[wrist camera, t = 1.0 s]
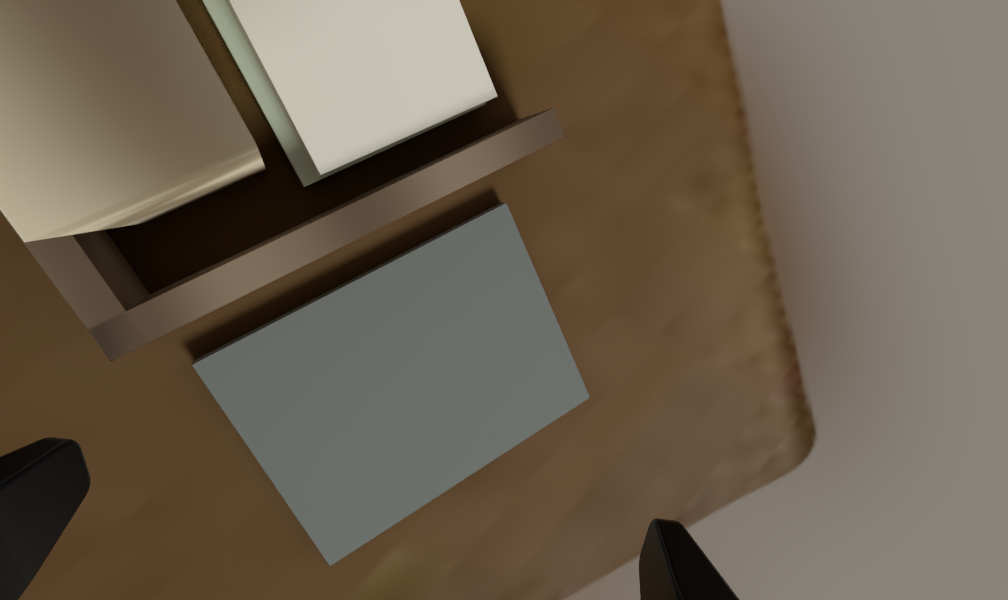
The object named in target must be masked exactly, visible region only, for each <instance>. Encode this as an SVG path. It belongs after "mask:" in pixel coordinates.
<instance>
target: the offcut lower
mask: <svg viewBox="0 0 1008 600" xmlns="http://www.w3.org/2000/svg"><path fill="white" fill-rule="evenodd" d="M201 1H202V2H203V4H204V6H205V8H206V10H207V12H208V13H209V15H210V17H211V19H212V21H213V23H214V24H215V26H216V28H217V30H218V32H219V34H220V35H221V37H222V39H223V41H224V43H225V44H226V46H227V48H228V50H229V52H230V54H231V55H232V57H233V59H234V61H235V63H236V65H237V66H238V68H239V70H240V72H241V74H242V76H243V77H244V79H245V81H246V83H247V85H248V87H249V88H250V90H251V92H252V94H253V96H254V98H255V99H256V101H257V103H258V105H259V107H260V109H261V110H262V112H263V114H264V116H265V118H266V120H267V121H268V123H269V125H270V127H271V129H272V130H273V132H274V134H275V136H276V138H277V140H278V141H279V143H280V145H281V147H282V149H283V151H284V152H285V154H286V156H287V158H288V160H289V162H290V163H291V165H292V167H293V169H294V171H295V173H296V174H297V176H298V178H299V180H300V182H301V184H302V185H303V187H306V186H308V185H310V184H312V183H314V182H317V181H319V180H321V179H323V178H325V177H328V176H330V175H332V174H334V173H336V172H339V171H341V170H343V169H345V168H347V167H349V166H352V165H354V164H356V163H358V162H360V161H363V160H365V159H367V158H369V157H371V156H374V155H376V154H378V153H380V152H382V151H385V150H387V149H389V148H391V147H393V146H395V145H398V144H400V143H402V142H404V141H406V140H409V139H411V138H413V137H415V136H417V135H420V134H422V133H424V132H426V131H428V130H431V129H433V128H435V127H437V126H439V125H441V124H444V123H446V122H448V121H450V120H452V119H455V118H457V117H459V116H461V115H463V114H466V113H468V112H470V111H472V110H474V109H477V108H479V107H481V106H483V105H485V104H486V102H485V103H483V104H480V105H478V106H476V107H474V108H471V109H469V110H467V111H465V112H462V113H460V114H458V115H456V116H453V117H451V118H449V119H447V120H445V121H442V122H440V123H438V124H436V125H433V126H431V127H429V128H427V129H424V130H422V131H420V132H418V133H415V134H413V135H411V136H409V137H406V138H404V139H402V140H400V141H397V142H395V143H393V144H391V145H388V146H386V147H384V148H382V149H379V150H377V151H375V152H373V153H370V154H368V155H366V156H364V157H362V158H359V159H357V160H355V161H353V162H350V163H348V164H346V165H344V166H341V167H339V168H337V169H335V170H332V171H330V172H328V173H326V174H323V175H321V176H319V177H317V175H316V173H315V171H314V169H313V167H312V165H311V163H310V161H309V160H308V158H307V156H306V154H305V152H304V150H303V148H302V146H301V144H300V142H299V141H298V139H297V137H296V135H295V133H294V131H293V129H292V127H291V125H290V123H289V122H288V120H287V118H286V116H285V114H284V112H283V110H282V108H281V106H280V104H279V103H278V101H277V99H276V97H275V95H274V93H273V91H272V89H271V87H270V85H269V84H268V82H267V80H266V78H265V76H264V74H263V72H262V70H261V68H260V66H259V65H258V63H257V61H256V59H255V57H254V55H253V53H252V51H251V49H250V47H249V46H248V44H247V42H246V40H245V38H244V36H243V34H242V32H241V30H240V28H239V27H238V25H237V23H236V21H235V19H234V17H233V15H232V13H231V11H230V9H229V8H228V6H227V4H226V2H225V0H201Z"/></svg>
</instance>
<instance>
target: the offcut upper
mask: <svg viewBox="0 0 1008 600" xmlns="http://www.w3.org/2000/svg"><path fill="white" fill-rule="evenodd" d="M225 2H226V4H227V6H228V8H229V9H230V11H231V13H232V15H233V17H234V19H235V21H236V23H237V25H238V27H239V28H240V30H241V32H242V34H243V36H244V38H245V40H246V42H247V44H248V46H249V47H250V49H251V51H252V53H253V55H254V57H255V59H256V61H257V63H258V65H259V66H260V68H261V70H262V72H263V74H264V76H265V78H266V80H267V82H268V84H269V85H270V87H271V89H272V91H273V93H274V95H275V97H276V99H277V101H278V103H279V104H280V106H281V108H282V110H283V112H284V114H285V116H286V118H287V120H288V122H289V123H290V125H291V127H292V129H293V131H294V133H295V135H296V137H297V139H298V141H299V142H300V144H301V146H302V148H303V150H304V152H305V154H306V156H307V158H308V160H309V161H310V163H311V165H312V167H313V169H314V171H315V173H316V175H317V177H319V176H321V175H323V174H326V173H328V172H330V171H332V170H335V169H337V168H339V167H341V166H344V165H346V164H348V163H350V162H353V161H355V160H357V159H359V158H362V157H364V156H366V155H368V154H370V153H373V152H375V151H377V150H379V149H382V148H384V147H386V146H388V145H391V144H393V143H395V142H397V141H400V140H402V139H404V138H406V137H409V136H411V135H413V134H415V133H418V132H420V131H422V130H424V129H427V128H429V127H431V126H433V125H436V124H438V123H440V122H442V121H445V120H447V119H449V118H451V117H453V116H456V115H458V114H460V113H462V112H465V111H467V110H469V109H471V108H474V107H476V106H478V105H480V104H483V103H485V102H487V101H489V100H491V99H493V98H495V97H497V93H496V91H495V88H494V86H493V83H492V81H491V78H490V76H489V73H488V71H487V68H486V66H485V63H484V61H483V58H482V56H481V53H480V51H479V48H478V46H477V43H476V41H475V38H474V36H473V34H472V31H471V29H470V26H469V24H468V21H467V19H466V16H465V14H464V11H463V9H462V6H461V4H460V1H459V0H225Z"/></svg>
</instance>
